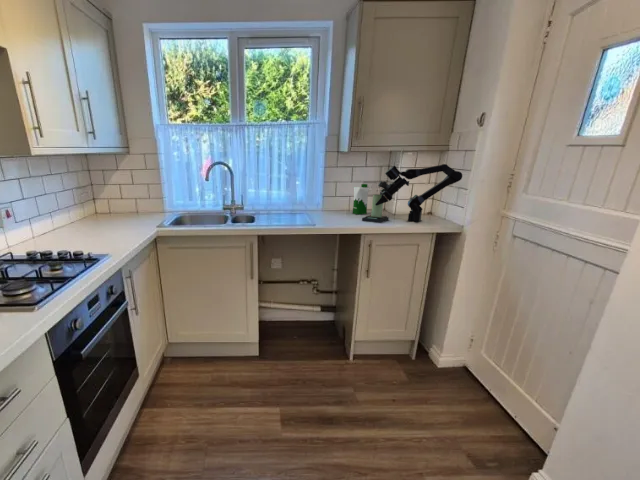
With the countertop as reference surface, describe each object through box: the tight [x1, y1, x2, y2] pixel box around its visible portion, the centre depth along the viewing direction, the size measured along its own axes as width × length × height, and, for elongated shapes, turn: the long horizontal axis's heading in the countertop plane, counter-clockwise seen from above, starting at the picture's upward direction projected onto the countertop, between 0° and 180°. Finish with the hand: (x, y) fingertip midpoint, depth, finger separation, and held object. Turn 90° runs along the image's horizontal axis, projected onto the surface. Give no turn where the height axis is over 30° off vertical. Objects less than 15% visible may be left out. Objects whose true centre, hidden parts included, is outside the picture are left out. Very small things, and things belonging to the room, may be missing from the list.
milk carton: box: [352, 183, 370, 216], centre depth 251 cm, size 9×9×20 cm
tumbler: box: [370, 194, 384, 217], centre depth 226 cm, size 6×6×13 cm
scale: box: [361, 214, 390, 224], centre depth 228 cm, size 12×12×3 cm
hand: (375, 204), depth 226 cm, fingers open, 9 cm apart
